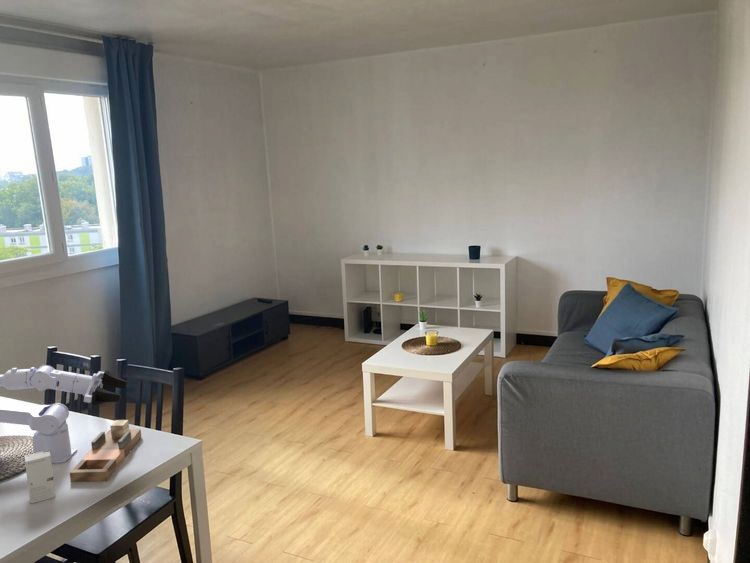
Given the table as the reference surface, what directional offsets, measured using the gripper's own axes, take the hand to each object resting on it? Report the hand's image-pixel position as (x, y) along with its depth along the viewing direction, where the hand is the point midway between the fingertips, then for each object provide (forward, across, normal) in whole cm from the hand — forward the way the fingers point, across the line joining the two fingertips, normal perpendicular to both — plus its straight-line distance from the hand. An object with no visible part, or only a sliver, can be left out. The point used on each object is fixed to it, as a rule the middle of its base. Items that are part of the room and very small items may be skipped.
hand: (123, 391), depth 181 cm
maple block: (+1, +2, +17) cm, 18 cm away
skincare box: (-11, -27, +19) cm, 35 cm away
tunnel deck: (0, -8, +19) cm, 21 cm away
